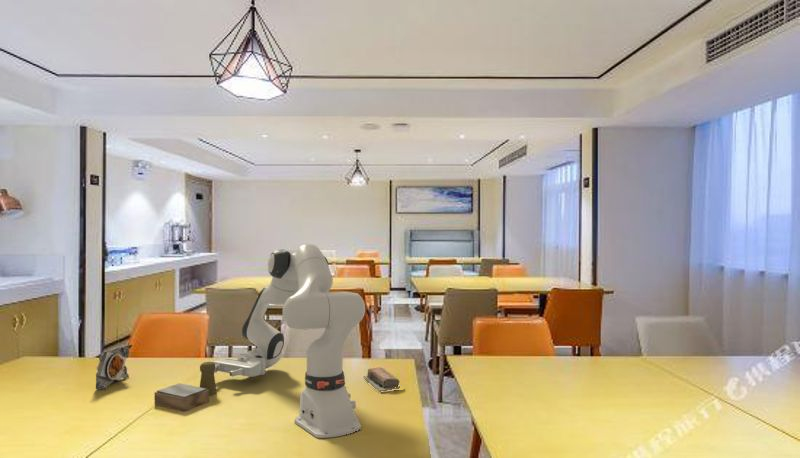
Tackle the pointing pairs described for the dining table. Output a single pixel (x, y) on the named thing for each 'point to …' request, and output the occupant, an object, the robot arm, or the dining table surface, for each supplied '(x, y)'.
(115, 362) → the grey mechanical part
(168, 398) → the walnut riser
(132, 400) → the dining table surface
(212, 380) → the brown chess pawn
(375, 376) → the packaged product
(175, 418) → the dining table surface
